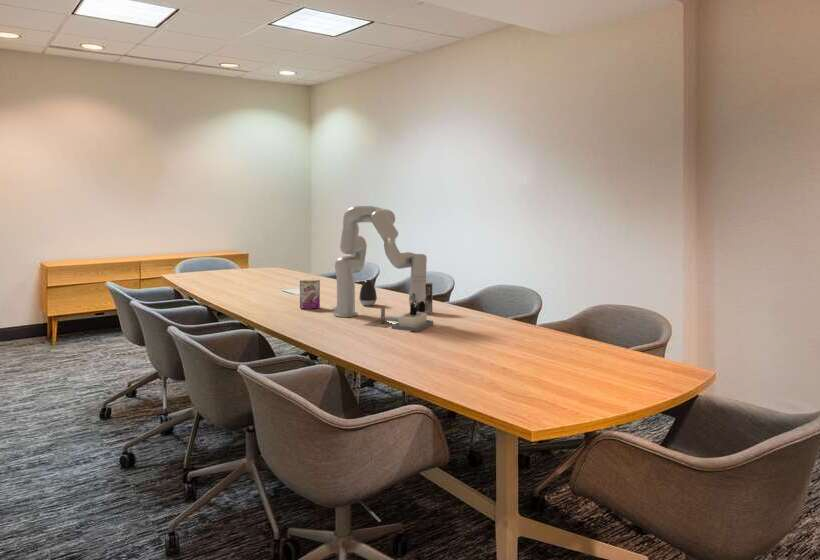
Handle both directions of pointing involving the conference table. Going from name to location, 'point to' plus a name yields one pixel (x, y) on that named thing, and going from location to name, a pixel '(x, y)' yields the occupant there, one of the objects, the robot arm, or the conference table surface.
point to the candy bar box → (309, 293)
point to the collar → (413, 319)
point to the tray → (412, 329)
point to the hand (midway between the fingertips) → (417, 313)
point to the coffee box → (427, 299)
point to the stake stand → (380, 321)
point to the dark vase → (367, 293)
